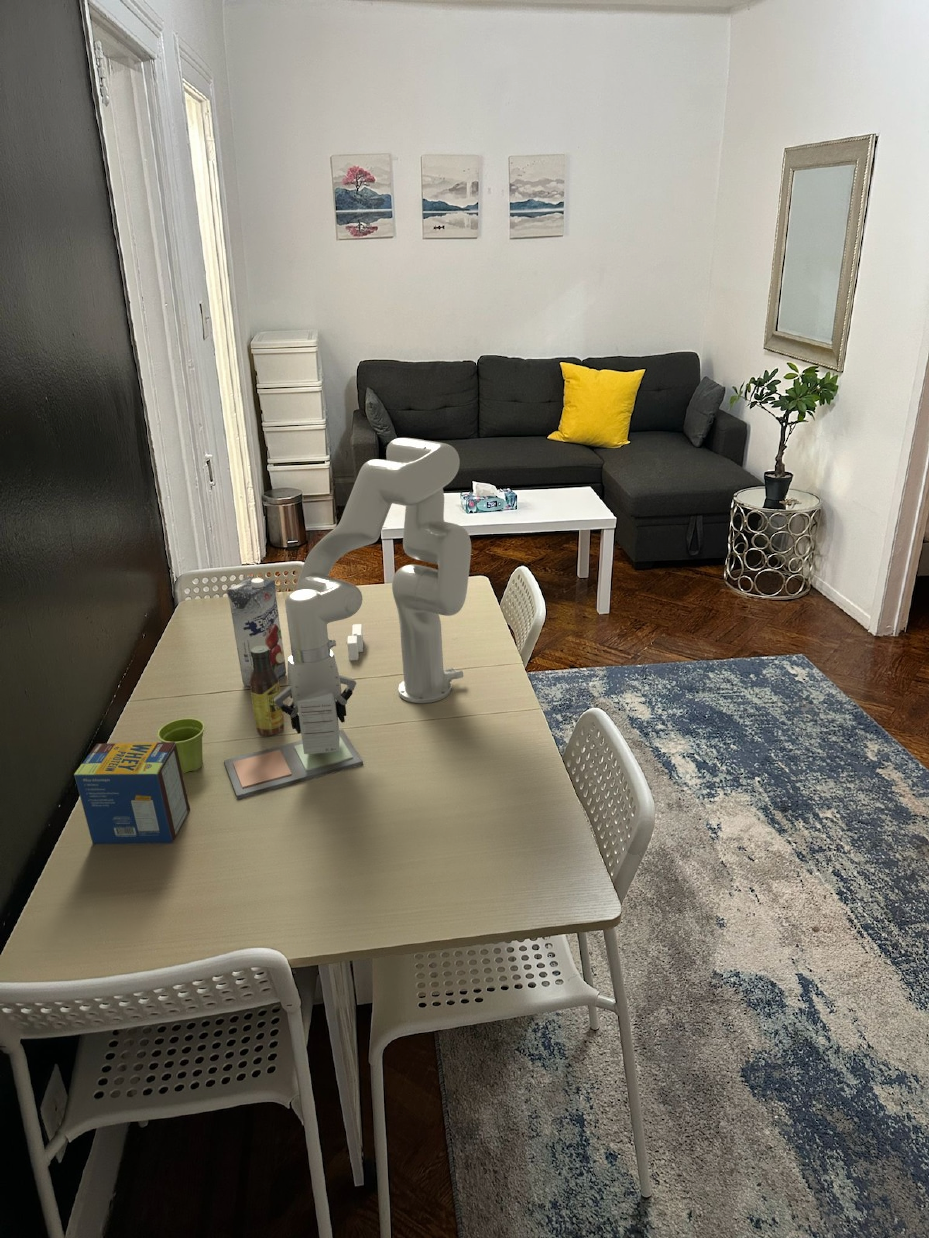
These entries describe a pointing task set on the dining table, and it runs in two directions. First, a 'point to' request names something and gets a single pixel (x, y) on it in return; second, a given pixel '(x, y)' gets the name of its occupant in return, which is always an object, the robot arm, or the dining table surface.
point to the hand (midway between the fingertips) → (319, 724)
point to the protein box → (133, 793)
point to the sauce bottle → (265, 693)
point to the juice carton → (256, 624)
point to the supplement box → (319, 724)
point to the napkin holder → (355, 642)
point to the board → (287, 766)
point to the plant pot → (185, 741)
